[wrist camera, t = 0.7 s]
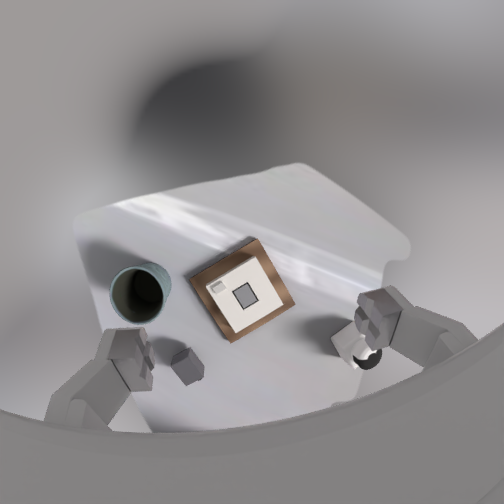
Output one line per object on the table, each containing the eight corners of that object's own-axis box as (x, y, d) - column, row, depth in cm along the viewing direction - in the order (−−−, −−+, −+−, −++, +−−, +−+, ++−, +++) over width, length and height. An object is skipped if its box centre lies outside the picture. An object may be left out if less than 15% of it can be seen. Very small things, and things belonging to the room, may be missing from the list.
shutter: (256, 299, 53) (257, 300, 52) (243, 307, 53) (243, 308, 52) (246, 283, 53) (247, 283, 52) (233, 291, 52) (233, 291, 52)
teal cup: (176, 262, 54) (165, 268, 42) (174, 310, 55) (164, 328, 43) (129, 258, 53) (109, 264, 41) (129, 305, 53) (110, 321, 41)
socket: (280, 301, 56) (284, 305, 52) (234, 328, 55) (236, 334, 51) (253, 255, 55) (256, 257, 51) (206, 284, 54) (205, 287, 50)
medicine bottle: (363, 341, 61) (389, 359, 49) (340, 358, 61) (364, 379, 49) (353, 320, 60) (380, 335, 49) (329, 337, 60) (352, 357, 48)
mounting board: (293, 302, 58) (295, 304, 57) (230, 340, 57) (230, 343, 55) (256, 238, 56) (257, 238, 55) (189, 278, 55) (189, 279, 53)
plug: (208, 368, 56) (208, 382, 50) (192, 376, 56) (190, 391, 49) (190, 344, 55) (188, 356, 49) (174, 353, 55) (170, 366, 49)
